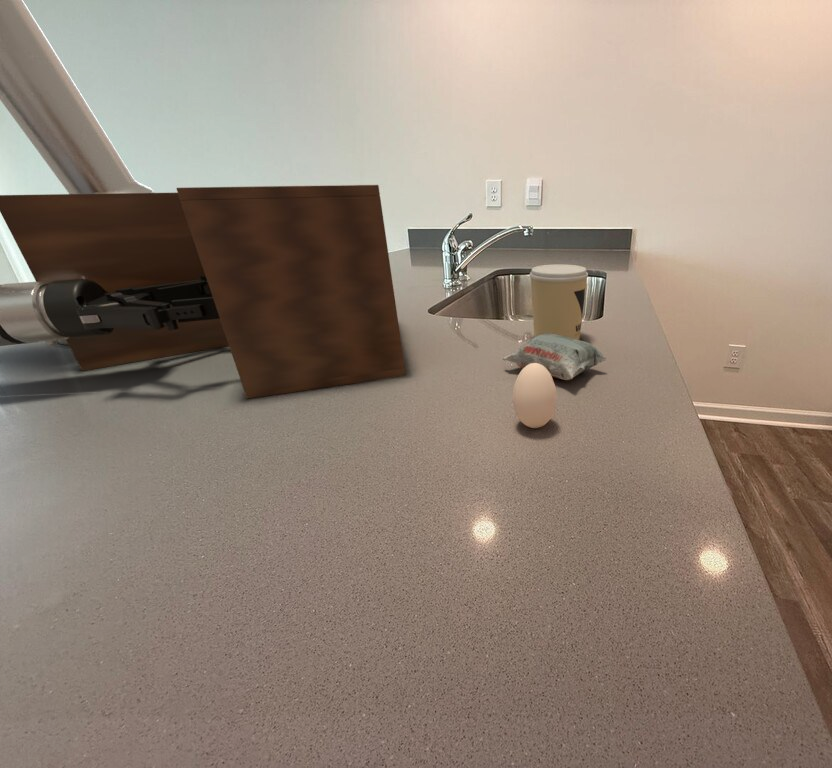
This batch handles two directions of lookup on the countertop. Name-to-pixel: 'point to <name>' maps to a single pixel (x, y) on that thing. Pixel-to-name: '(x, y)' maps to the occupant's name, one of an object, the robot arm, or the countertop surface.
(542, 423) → the egg
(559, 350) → the packaged food
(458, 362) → the countertop surface
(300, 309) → the wooden board
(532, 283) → the coffee cup
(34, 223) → the cupboard door
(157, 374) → the countertop surface
